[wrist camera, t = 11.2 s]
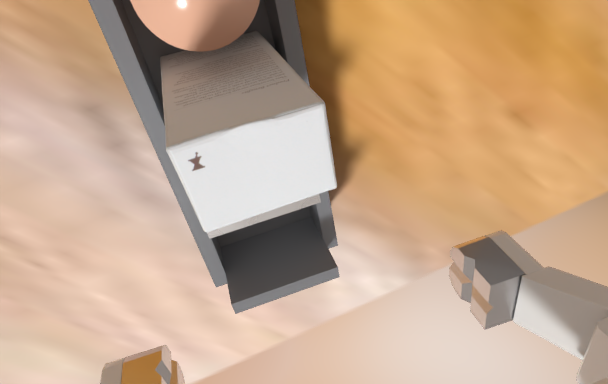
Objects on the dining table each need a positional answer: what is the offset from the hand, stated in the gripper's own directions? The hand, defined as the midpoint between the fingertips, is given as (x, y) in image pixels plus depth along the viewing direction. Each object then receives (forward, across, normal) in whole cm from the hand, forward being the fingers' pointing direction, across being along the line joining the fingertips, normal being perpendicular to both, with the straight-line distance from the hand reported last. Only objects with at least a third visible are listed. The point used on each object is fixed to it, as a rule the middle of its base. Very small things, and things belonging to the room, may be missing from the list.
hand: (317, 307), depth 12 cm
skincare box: (+18, 0, -1) cm, 18 cm away
